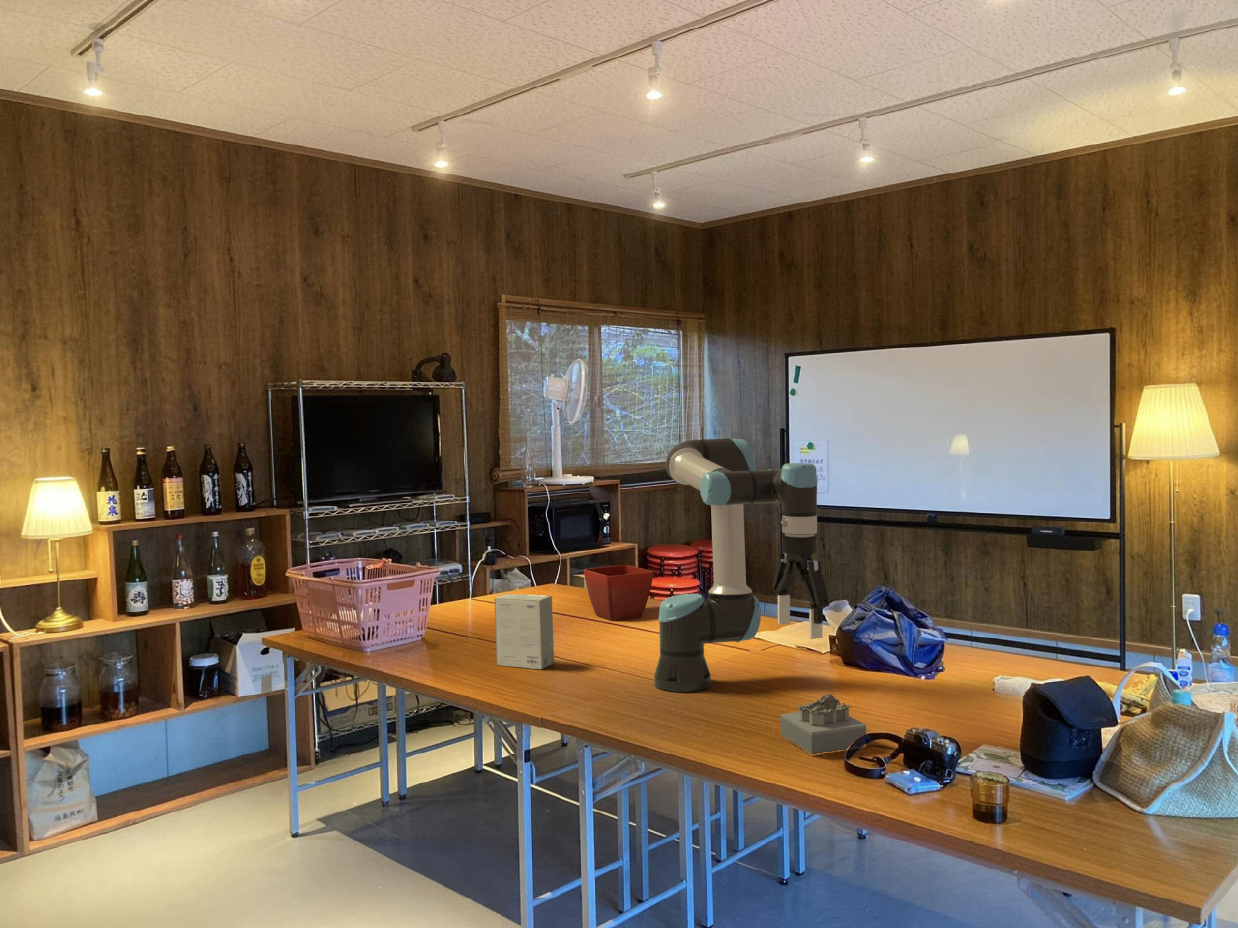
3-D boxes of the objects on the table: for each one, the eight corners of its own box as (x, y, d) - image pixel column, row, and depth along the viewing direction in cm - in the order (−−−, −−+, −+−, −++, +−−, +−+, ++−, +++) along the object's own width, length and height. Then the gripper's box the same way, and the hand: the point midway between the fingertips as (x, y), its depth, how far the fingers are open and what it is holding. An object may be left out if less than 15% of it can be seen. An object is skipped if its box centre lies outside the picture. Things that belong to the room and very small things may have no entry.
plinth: (781, 736, 204) (780, 714, 204) (833, 729, 209) (832, 707, 208) (811, 756, 192) (811, 732, 192) (866, 748, 196) (866, 724, 196)
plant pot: (655, 617, 334) (654, 570, 333) (609, 624, 324) (608, 575, 324) (628, 609, 351) (627, 564, 350) (583, 615, 341) (582, 569, 340)
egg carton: (833, 710, 206) (833, 692, 206) (855, 720, 199) (855, 701, 199) (793, 717, 202) (793, 699, 201) (814, 727, 195) (814, 708, 195)
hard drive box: (555, 663, 272) (553, 595, 271) (542, 670, 265) (540, 600, 264) (509, 659, 278) (507, 592, 277) (495, 665, 271) (493, 597, 270)
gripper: (756, 528, 214) (757, 619, 215) (814, 543, 190) (814, 646, 192) (785, 526, 216) (785, 616, 218) (846, 541, 193) (846, 642, 194)
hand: (799, 630), depth 205 cm, fingers open, 13 cm apart
